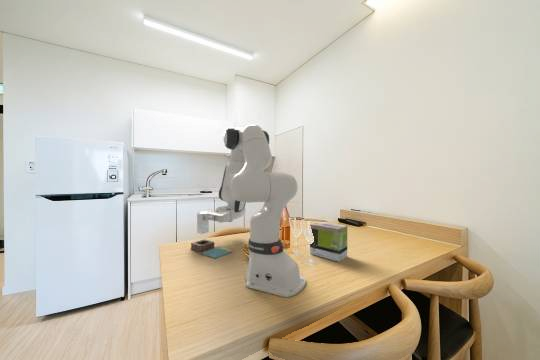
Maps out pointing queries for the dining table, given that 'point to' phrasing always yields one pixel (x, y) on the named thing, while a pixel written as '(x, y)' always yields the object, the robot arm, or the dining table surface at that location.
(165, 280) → the dining table surface
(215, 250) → the rubber mat
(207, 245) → the socket block
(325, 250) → the tea box
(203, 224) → the steel peg
